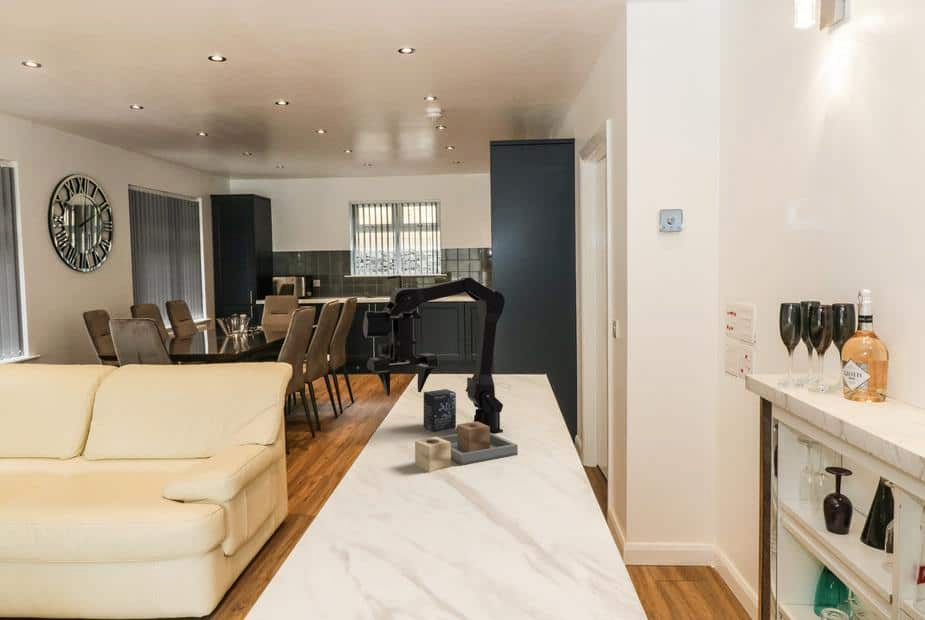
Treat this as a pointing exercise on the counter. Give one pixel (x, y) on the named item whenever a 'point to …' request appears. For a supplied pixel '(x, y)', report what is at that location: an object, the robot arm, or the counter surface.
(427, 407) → the box
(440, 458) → the block
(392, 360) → the robot arm
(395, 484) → the counter surface
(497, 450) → the tray
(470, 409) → the counter surface
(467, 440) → the block
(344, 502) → the counter surface
